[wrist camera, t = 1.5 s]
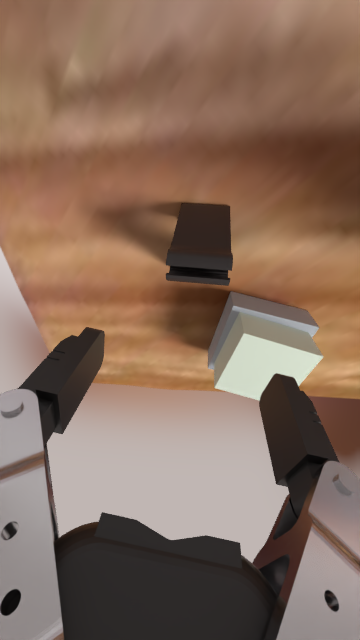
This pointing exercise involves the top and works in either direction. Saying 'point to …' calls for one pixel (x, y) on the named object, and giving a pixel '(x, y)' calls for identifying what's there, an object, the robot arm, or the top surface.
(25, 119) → the top surface
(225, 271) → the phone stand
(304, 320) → the tower base slab
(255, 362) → the tower top block
